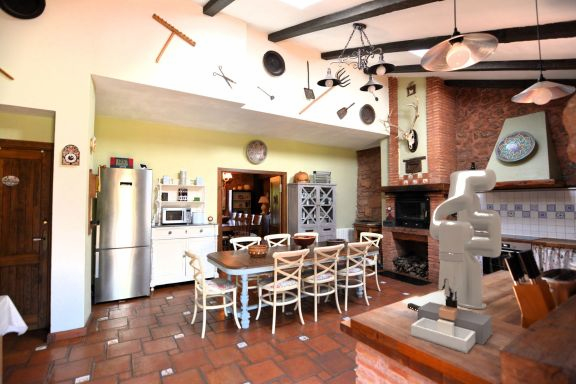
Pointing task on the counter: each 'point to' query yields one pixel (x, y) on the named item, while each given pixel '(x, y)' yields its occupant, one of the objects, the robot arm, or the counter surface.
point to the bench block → (461, 320)
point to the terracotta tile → (448, 312)
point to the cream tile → (445, 327)
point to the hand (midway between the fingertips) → (451, 311)
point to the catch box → (443, 335)
